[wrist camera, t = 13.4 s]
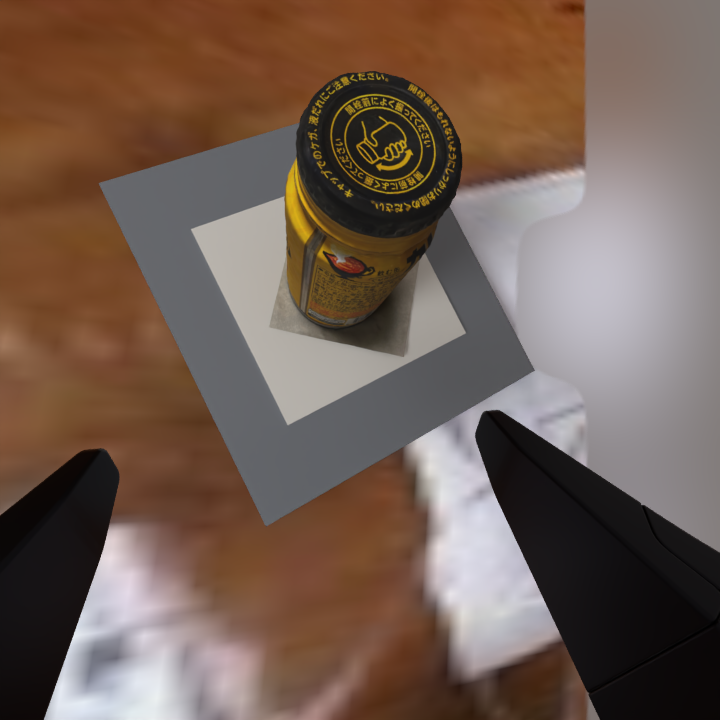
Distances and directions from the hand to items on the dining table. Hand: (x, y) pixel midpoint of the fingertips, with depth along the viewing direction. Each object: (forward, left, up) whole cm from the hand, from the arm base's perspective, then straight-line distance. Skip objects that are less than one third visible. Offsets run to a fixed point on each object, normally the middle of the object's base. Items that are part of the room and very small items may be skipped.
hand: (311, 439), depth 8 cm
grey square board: (+1, -9, -13) cm, 16 cm away
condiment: (0, -9, -12) cm, 15 cm away
